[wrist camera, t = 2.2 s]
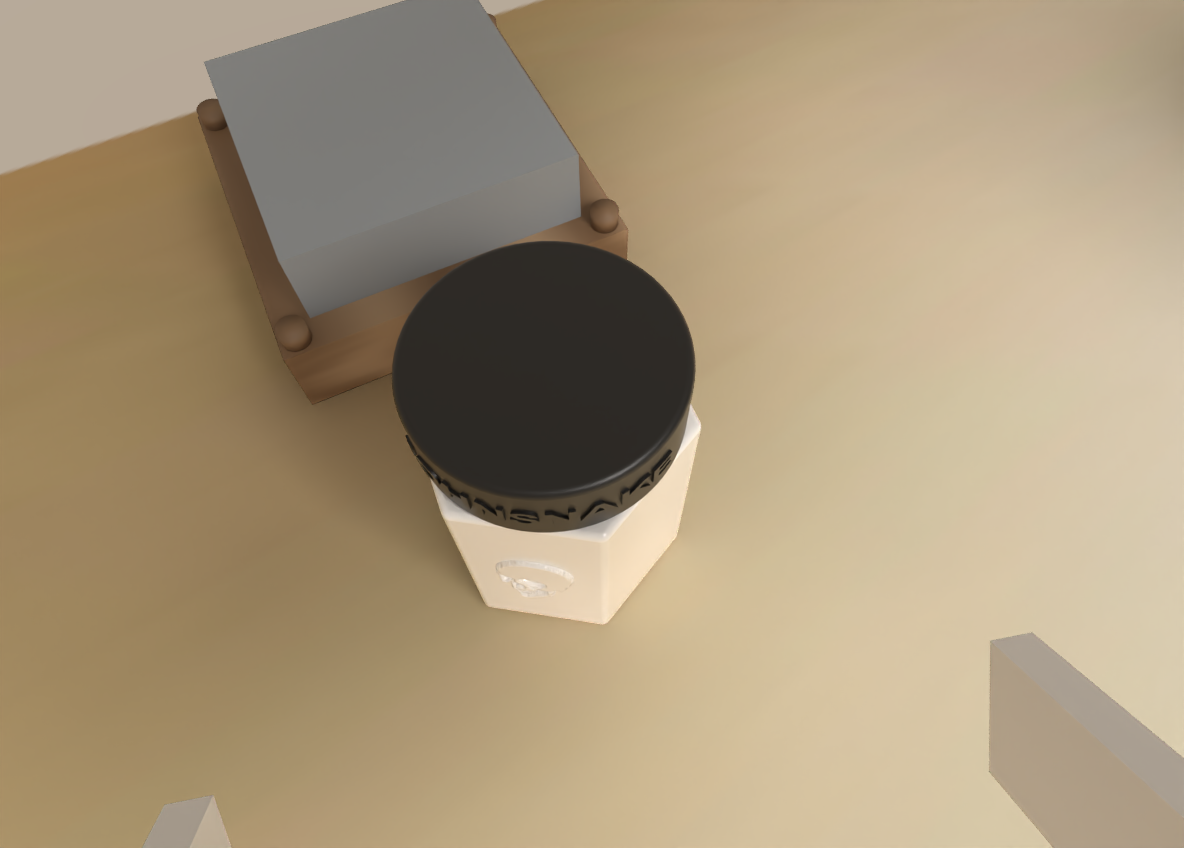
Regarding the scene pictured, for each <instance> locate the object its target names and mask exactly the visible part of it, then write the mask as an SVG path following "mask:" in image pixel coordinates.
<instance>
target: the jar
mask: <svg viewBox="0 0 1184 848" xmlns="http://www.w3.org/2000/svg"><path fill="white" fill-rule="evenodd" d="M694 381H695V353H694V347H693V342H692V338H691V335H690V331H689V328H688V326H687V323H686V321H685V318H684V316H683V315H682V313H681V311H680V309H679V307H678V306H677V304H676V303H675V301H674V300H673V299H672V297H671V296H670V295H669V293H668V292H667V291H666V290H665V289H664V288H663V287H662V286H661V285H660V284H659V283H658V282H657V281H656V280H655V279H654V278H653V277H652V276H650V275H649V274H648V273H647V272H645V271H644V270H643V269H641V268H639V267H638V266H636V265H635V264H633V263H632V262H630V261H628V260H626V259H624V258H622V257H620V256H618V255H616V254H613V253H611V252H609V251H606V250H603V249H600V248H596V247H593V246H589V245H584V244H579V243H573V242H563V241H535V242H525V243H519V244H513V245H509V246H505V247H501V248H498V249H494V250H491V251H488V252H486V253H483V254H481V255H479V256H476V257H474V258H472V259H470V260H468V261H466V262H464V263H463V264H461V265H459V266H458V267H456V268H454V269H453V270H452V271H450V272H449V273H447V274H446V275H445V276H443V277H442V278H441V279H440V280H439V281H437V282H436V283H435V284H434V285H433V286H432V287H431V288H430V289H429V290H428V291H427V292H426V293H425V294H424V295H423V296H422V298H421V299H420V300H419V301H418V303H417V304H416V305H415V307H414V308H413V310H412V311H411V313H410V314H409V316H408V318H407V319H406V321H405V323H404V325H403V327H402V330H401V332H400V335H399V337H398V340H397V344H396V347H395V351H394V357H393V363H392V387H393V395H394V400H395V404H396V408H397V411H398V414H399V417H400V419H401V422H402V424H403V426H404V428H405V430H406V432H407V434H408V435H406V438H407V441H408V443H409V446H410V448H411V450H412V452H413V454H414V455H417V456H416V458H417V460H418V462H419V463H420V465H421V467H422V468H423V470H424V471H425V472H426V474H427V475H428V476H429V477H430V480H431V483H432V487H433V490H434V493H435V496H436V499H437V502H438V506H439V509H440V512H441V515H442V517H443V519H444V521H445V523H446V525H447V527H448V529H449V531H450V533H451V535H452V537H453V539H454V541H455V543H456V545H457V548H458V550H459V552H460V554H461V556H462V558H463V560H464V562H465V564H466V566H467V568H468V570H469V572H470V574H471V576H472V578H473V580H474V582H475V584H476V586H477V588H478V590H479V592H480V594H481V596H482V598H483V600H484V603H485V604H486V605H487V606H489V607H493V608H499V609H506V610H512V611H519V612H525V613H532V614H538V615H545V616H551V617H557V618H564V619H570V620H577V621H583V622H589V623H596V624H606V623H607V622H609V620H610V619H611V618H612V617H613V615H614V614H615V613H616V612H617V610H618V609H619V608H620V607H621V605H622V604H623V603H624V602H625V600H626V599H627V598H628V597H629V595H630V594H631V593H632V592H633V590H634V589H635V588H636V587H637V585H638V584H639V583H640V582H641V580H642V579H643V578H644V577H645V575H646V574H647V573H648V572H649V570H650V569H651V568H652V567H653V565H654V564H655V563H656V562H657V560H658V559H659V558H660V557H661V555H662V554H663V553H664V552H665V550H666V549H667V548H668V547H669V545H670V544H671V543H672V542H673V540H674V539H675V538H676V536H677V534H678V529H679V525H680V520H681V516H682V511H683V507H684V502H685V498H686V493H687V489H688V485H689V480H690V476H691V471H692V467H693V462H694V458H695V453H696V449H697V445H698V440H699V436H700V431H701V423H700V421H699V419H698V417H697V415H696V413H695V411H694V409H693V407H692V405H691V398H692V393H693V388H694Z"/></svg>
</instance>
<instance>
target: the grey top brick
mask: <svg viewBox="0 0 1184 848" xmlns="http://www.w3.org/2000/svg"><path fill="white" fill-rule="evenodd" d="M204 63H205V66H206V69H207V72H208V74H209V77H210V80H211V82H212V85H213V88H214V90H215V93H216V96H217V98H218V101H219V104H220V106H221V109H222V112H223V114H224V117H225V120H226V122H227V125H228V128H229V130H230V133H231V136H232V138H233V141H234V144H235V146H236V149H237V152H238V154H239V157H240V160H241V162H242V165H243V168H244V170H245V173H246V176H247V178H248V181H249V184H250V186H251V189H252V192H253V194H254V197H255V200H256V202H257V205H258V208H259V210H260V213H261V216H262V218H263V221H264V224H265V226H266V229H267V232H268V234H269V237H270V240H271V242H272V245H273V248H274V250H275V253H276V256H277V258H278V261H279V263H280V265H281V267H282V269H283V270H284V272H285V274H286V276H287V278H288V279H289V281H290V283H291V285H292V287H293V288H294V290H295V292H296V294H297V296H298V297H299V299H300V301H301V303H302V305H303V306H304V308H305V310H306V312H307V314H308V315H309V317H310V318H312V317H315V316H317V315H320V314H323V313H325V312H328V311H331V310H333V309H336V308H339V307H341V306H344V305H347V304H349V303H352V302H355V301H357V300H360V299H363V298H365V297H368V296H371V295H373V294H376V293H379V292H381V291H384V290H387V289H389V288H392V287H395V286H397V285H400V284H403V283H405V282H408V281H411V280H413V279H416V278H419V277H421V276H424V275H427V274H429V273H432V272H435V271H437V270H440V269H443V268H445V267H448V266H451V265H453V264H456V263H459V262H461V261H464V260H467V259H469V258H472V257H475V256H477V255H480V254H483V253H485V252H488V251H491V250H493V249H496V248H499V247H501V246H504V245H507V244H509V243H512V242H515V241H517V240H520V239H523V238H525V237H528V236H531V235H533V234H536V233H539V232H541V231H544V230H547V229H549V228H552V227H555V226H557V225H560V224H563V223H565V222H568V221H571V220H573V219H576V218H579V217H581V205H580V180H579V155H578V153H577V151H576V150H575V148H574V147H573V145H572V144H571V142H570V141H569V139H568V138H567V136H566V134H565V133H564V131H563V130H562V128H561V127H560V125H559V124H558V122H557V121H556V119H555V118H554V116H553V114H552V113H551V111H550V110H549V108H548V107H547V105H546V104H545V102H544V101H543V99H542V97H541V96H540V94H539V93H538V91H537V90H536V88H535V87H534V85H533V84H532V82H531V81H530V79H529V77H528V76H527V74H526V73H525V71H524V70H523V68H522V67H521V65H520V64H519V62H518V61H517V59H516V57H515V56H514V54H513V53H512V51H511V50H510V48H509V47H508V45H507V44H506V42H505V40H504V39H503V37H502V36H501V34H500V33H499V31H498V30H497V28H496V27H495V25H494V24H493V22H492V20H491V19H490V17H489V16H488V14H487V13H486V11H485V10H484V9H483V7H482V5H481V4H480V2H479V0H406V1H402V2H399V3H395V4H392V5H389V6H386V7H382V8H379V9H376V10H373V11H369V12H366V13H363V14H359V15H356V16H353V17H350V18H346V19H343V20H340V21H337V22H333V23H330V24H327V25H323V26H320V27H317V28H314V29H311V30H307V31H304V32H301V33H297V34H294V35H291V36H287V37H284V38H281V39H278V40H275V41H271V42H268V43H264V44H261V45H258V46H255V47H252V48H248V49H245V50H242V51H238V52H235V53H232V54H228V55H225V56H222V57H219V58H215V59H212V60H209V61H206V62H204Z"/></svg>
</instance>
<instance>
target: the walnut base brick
mask: <svg viewBox="0 0 1184 848" xmlns="http://www.w3.org/2000/svg"><path fill="white" fill-rule="evenodd" d="M488 16H489V17H490V19H491V20H492V22H493V24H494V25H495V27H496V28H497V26H496V19H495V17H494V16H493V15H491V14H488ZM497 30H498V28H497ZM498 31H499V30H498ZM499 33H500V31H499ZM500 34H501V33H500ZM501 36H502V34H501ZM502 37H503V36H502ZM503 39H504V37H503ZM504 40H505V39H504ZM505 42H506V40H505ZM506 44H507V42H506ZM507 45H508V44H507ZM508 47H509V45H508ZM509 48H510V47H509ZM510 50H511V48H510ZM511 51H512V50H511ZM512 53H513V51H512ZM513 54H514V53H513ZM514 56H515V54H514ZM515 57H516V56H515ZM516 59H517V57H516ZM517 61H518V62H519V60H518V59H517ZM519 64H520V62H519ZM520 65H521V64H520ZM521 67H522V65H521ZM522 68H523V67H522ZM523 70H524V68H523ZM524 71H525V70H524ZM525 73H526V71H525ZM526 74H527V73H526ZM527 76H528V74H527ZM528 77H529V76H528ZM529 79H530V77H529ZM530 81H531V82H532V80H531V79H530ZM532 84H533V82H532ZM533 85H534V84H533ZM534 87H535V85H534ZM535 88H536V87H535ZM536 90H537V88H536ZM537 91H538V90H537ZM538 93H539V91H538ZM539 94H540V93H539ZM540 96H541V94H540ZM541 97H542V96H541ZM542 99H543V97H542ZM543 101H544V102H545V100H544V99H543ZM545 104H546V102H545ZM546 105H547V104H546ZM547 107H548V105H547ZM548 108H549V107H548ZM549 110H550V108H549ZM550 111H551V110H550ZM197 113H198V115H199V116H198V119H199V122H200V125H201V127H202V130H203V133H204V136H205V139H206V142H207V144H208V147H209V150H210V153H211V156H212V159H213V162H214V164H215V167H216V170H217V173H218V176H219V179H220V181H221V184H222V187H223V190H224V193H225V196H226V198H227V201H228V204H229V207H230V210H231V213H232V215H233V218H234V221H235V224H236V227H237V230H238V232H239V235H240V238H241V241H242V244H243V247H244V249H245V252H246V255H247V258H248V261H249V264H250V266H251V269H252V272H253V275H254V278H255V281H256V284H257V286H258V289H259V292H260V295H261V298H262V301H263V303H264V306H265V309H266V312H267V315H268V318H269V320H270V323H271V326H272V329H273V332H274V335H275V337H276V340H277V343H278V346H279V349H280V352H281V354H282V357H283V360H284V362H285V363H286V365H287V366H288V368H289V369H290V371H291V373H292V374H293V376H294V377H295V379H296V380H297V382H298V383H299V385H300V386H301V388H302V389H303V391H304V392H305V394H306V395H307V397H308V398H309V400H310V401H311V403H312V404H315V403H317V402H320V401H323V400H325V399H328V398H330V397H333V396H335V395H338V394H340V393H343V392H345V391H348V390H350V389H353V388H355V387H358V386H360V385H363V384H365V383H368V382H370V381H373V380H376V379H378V378H381V377H383V376H386V375H388V374H391V373H392V363H393V357H394V351H395V347H396V344H397V340H398V337H399V335H400V332H401V330H402V327H403V325H404V323H405V321H406V319H407V318H408V316H409V314H410V313H411V311H412V310H413V308H414V307H415V305H416V304H417V303H418V301H419V300H420V299H421V298H422V296H423V295H424V294H425V293H426V292H427V291H428V290H429V289H430V288H431V287H432V286H433V285H434V284H435V283H436V282H437V281H439V280H440V279H441V278H442V277H443V276H445V275H446V274H447V273H449V272H450V271H452V270H453V269H454V268H456V267H458V266H459V265H461V264H463V263H464V262H466V261H468V260H470V259H472V258H474V257H472V258H469V259H467V260H464V261H461V262H459V263H456V264H453V265H451V266H448V267H445V268H443V269H440V270H437V271H435V272H432V273H429V274H427V275H424V276H421V277H419V278H416V279H413V280H411V281H408V282H405V283H403V284H400V285H397V286H395V287H392V288H389V289H387V290H384V291H381V292H379V293H376V294H373V295H371V296H368V297H365V298H363V299H360V300H357V301H355V302H352V303H349V304H347V305H344V306H341V307H339V308H336V309H333V310H331V311H328V312H325V313H323V314H320V315H317V316H315V317H312V318H310V317H309V315H308V314H307V312H306V310H305V308H304V306H303V305H302V303H301V301H300V299H299V297H298V296H297V294H296V292H295V290H294V288H293V287H292V285H291V283H290V281H289V279H288V278H287V276H286V274H285V272H284V270H283V269H282V267H281V265H280V263H279V261H278V258H277V256H276V253H275V250H274V248H273V245H272V242H271V240H270V237H269V234H268V232H267V229H266V226H265V224H264V221H263V218H262V216H261V213H260V210H259V208H258V205H257V202H256V200H255V197H254V194H253V192H252V189H251V186H250V184H249V181H248V178H247V176H246V173H245V170H244V168H243V165H242V162H241V160H240V157H239V154H238V152H237V149H236V146H235V144H234V141H233V138H232V136H231V133H230V130H229V128H228V125H227V122H226V120H225V117H224V114H223V112H222V109H221V106H220V104H219V101H218V99H208V100H205V101H203V102H201V103H200V104H199V105H198V107H197ZM551 113H552V111H551ZM552 114H553V113H552ZM553 116H554V114H553ZM554 118H555V119H556V117H555V116H554ZM556 121H557V122H558V120H557V119H556ZM558 124H559V122H558ZM559 125H560V124H559ZM560 127H561V125H560ZM561 128H562V127H561ZM562 130H563V128H562ZM563 131H564V130H563ZM564 133H565V131H564ZM565 134H566V133H565ZM566 136H567V134H566ZM567 138H568V139H569V137H568V136H567ZM569 141H570V142H571V140H570V139H569ZM571 144H572V142H571ZM572 145H573V144H572ZM573 147H574V145H573ZM574 148H575V147H574ZM575 150H576V148H575ZM576 151H577V150H576ZM577 153H578V151H577ZM578 155H579V180H580V205H581V217H579V218H576V219H573V220H571V221H568V222H565V223H563V224H560V225H557V226H555V227H552V228H549V229H547V230H544V231H541V232H539V233H536V234H533V235H531V236H528V237H525V238H523V239H520V240H517V241H515V242H512V243H509V244H507V245H504V246H501V247H505V246H509V245H513V244H519V243H525V242H535V241H563V242H573V243H579V244H584V245H589V246H593V247H596V248H600V249H603V250H606V251H609V252H611V253H613V254H616V255H618V256H620V257H622V258H624V259H626V260H627V242H628V228H627V227H626V225H625V224H624V222H623V220H622V219H621V217H620V216H619V208H618V205H617V204H616V203H615V202H614V201H612V200H610V199H608V197H607V196H606V194H605V193H604V191H603V190H602V188H601V187H600V185H599V184H598V182H597V180H596V179H595V177H594V176H593V174H592V173H591V171H590V170H589V168H588V167H587V165H586V164H585V162H584V160H583V159H582V157H581V156H580V154H579V153H578ZM501 247H499V248H501ZM496 249H498V248H496ZM493 250H494V249H493ZM485 253H486V252H485ZM480 255H481V254H480ZM477 256H479V255H477ZM475 257H476V256H475Z"/></svg>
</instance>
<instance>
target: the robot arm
mask: <svg viewBox="0 0 1184 848" xmlns="http://www.w3.org/2000/svg"><path fill="white" fill-rule="evenodd" d="M989 772H990V773H991V775H992V776H993V777H994V778H995V779H996V780H997V782H998V783H999V784H1000V785H1001V786H1002V788H1003V789H1004V790H1005V791H1006V792H1007V793H1008V795H1009V796H1010V797H1011V798H1012V799H1013V801H1014V802H1015V803H1016V804H1017V805H1018V806H1019V808H1020V809H1021V810H1022V811H1023V812H1024V814H1025V815H1026V816H1027V817H1028V818H1029V819H1030V821H1031V822H1032V823H1033V824H1034V825H1035V827H1036V828H1037V829H1038V830H1039V831H1040V832H1041V834H1042V835H1043V836H1044V837H1045V838H1046V840H1047V841H1048V842H1049V843H1050V844H1051V845H1052V847H1053V848H1184V758H1183V757H1182V756H1181V755H1179V754H1178V753H1177V752H1176V751H1174V750H1173V749H1172V748H1171V747H1170V746H1168V745H1167V744H1166V743H1165V742H1164V741H1162V740H1161V739H1160V738H1159V737H1158V736H1156V735H1155V734H1154V733H1153V732H1152V731H1150V730H1149V729H1148V728H1147V727H1146V726H1144V725H1143V724H1142V723H1141V722H1140V721H1138V720H1137V719H1136V718H1135V717H1133V716H1132V715H1131V714H1130V713H1129V712H1127V711H1126V710H1125V709H1124V708H1123V707H1121V706H1120V705H1119V704H1118V703H1117V702H1115V701H1114V700H1113V699H1112V698H1111V697H1109V696H1108V695H1107V694H1106V693H1105V692H1103V691H1102V690H1101V689H1100V688H1099V687H1097V686H1096V685H1095V684H1094V683H1093V682H1091V681H1090V680H1089V679H1088V678H1086V677H1085V676H1084V675H1083V674H1082V673H1080V672H1079V671H1078V670H1077V669H1076V668H1074V667H1073V666H1072V665H1071V664H1070V663H1068V662H1067V661H1066V660H1065V659H1064V658H1062V657H1061V656H1060V655H1059V654H1058V653H1056V652H1055V651H1054V650H1053V649H1052V648H1050V647H1049V646H1048V645H1047V644H1045V643H1044V642H1043V641H1042V640H1041V639H1039V638H1038V637H1037V636H1036V635H1035V634H1033V633H1027V634H1022V635H1017V636H1012V637H1007V638H1002V639H997V640H992V641H990V719H989ZM142 848H232V847H231V844H230V841H229V839H228V836H227V833H226V830H225V827H224V824H223V821H222V818H221V815H220V813H219V810H218V807H217V804H216V801H215V798H214V795H211V796H206V797H201V798H196V799H191V800H186V801H181V802H176V803H171V804H166V805H164V807H163V809H162V810H161V812H160V814H159V816H158V818H157V820H156V822H155V824H154V826H153V828H152V830H151V831H150V833H149V835H148V837H147V839H146V841H145V843H144V845H143V847H142Z"/></svg>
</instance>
